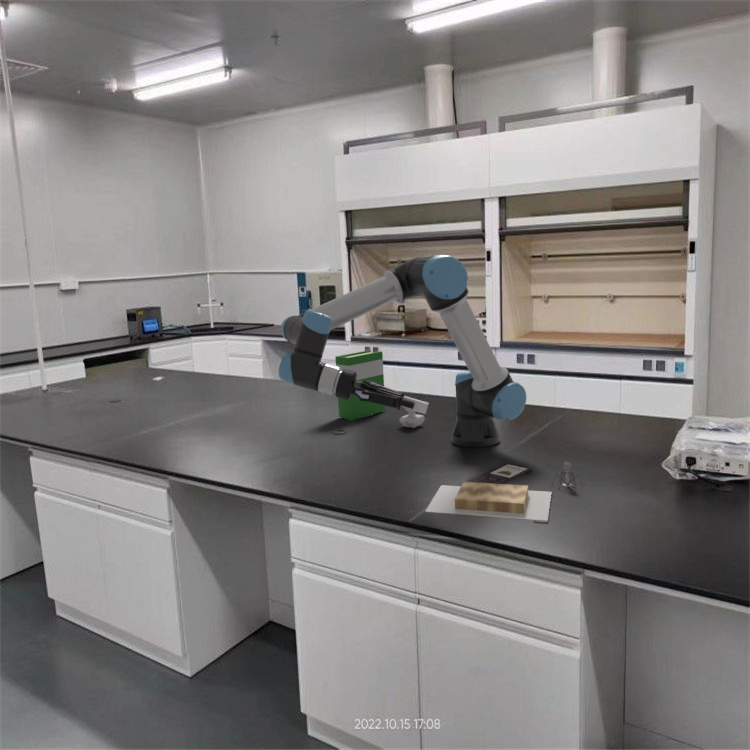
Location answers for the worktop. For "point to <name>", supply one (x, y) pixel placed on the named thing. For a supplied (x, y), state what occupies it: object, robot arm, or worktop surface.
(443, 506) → the mat
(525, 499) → the plaque
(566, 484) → the bacteriophage
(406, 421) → the stamp
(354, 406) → the hardback book
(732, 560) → the worktop surface
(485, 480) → the chocolate bar
